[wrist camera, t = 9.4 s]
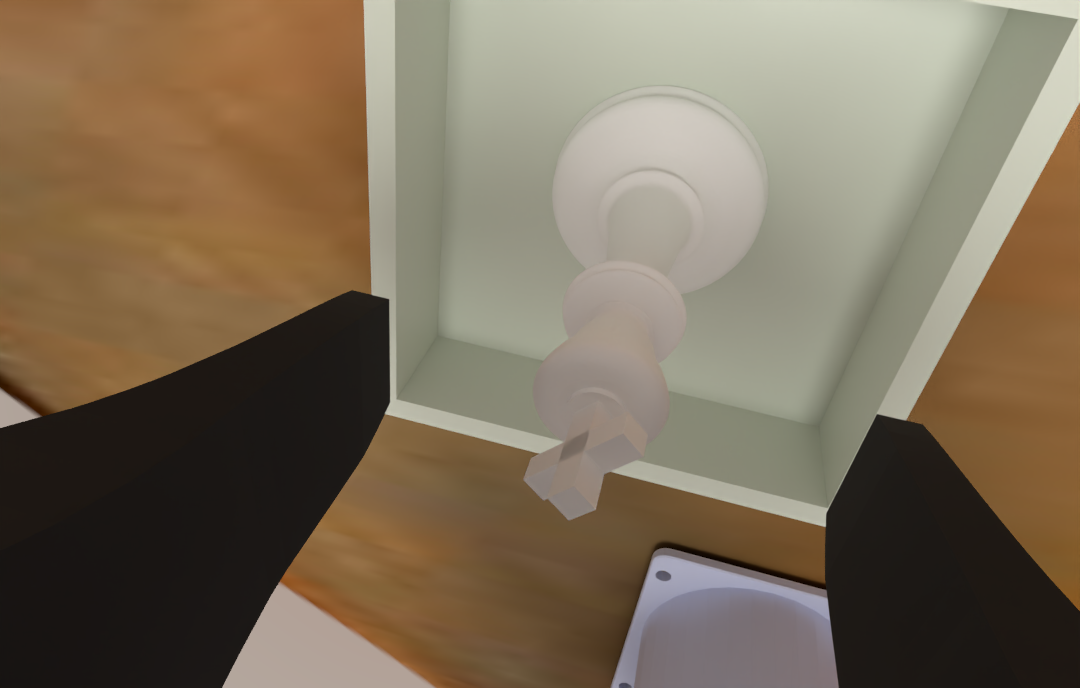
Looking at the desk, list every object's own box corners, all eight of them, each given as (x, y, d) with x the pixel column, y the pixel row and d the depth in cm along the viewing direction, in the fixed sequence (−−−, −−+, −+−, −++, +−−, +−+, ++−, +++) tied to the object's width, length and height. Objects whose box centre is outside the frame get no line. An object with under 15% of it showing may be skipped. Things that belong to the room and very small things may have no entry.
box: (832, 434, 20) (844, 532, 17) (424, 336, 22) (374, 411, 19) (1059, -48, 13) (1145, -20, 10) (436, -141, 15) (359, -139, 12)
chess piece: (513, 169, 17) (310, 441, 9) (687, 35, 15) (609, 253, 7) (634, 317, 19) (547, 661, 11) (810, 219, 16) (864, 573, 8)
